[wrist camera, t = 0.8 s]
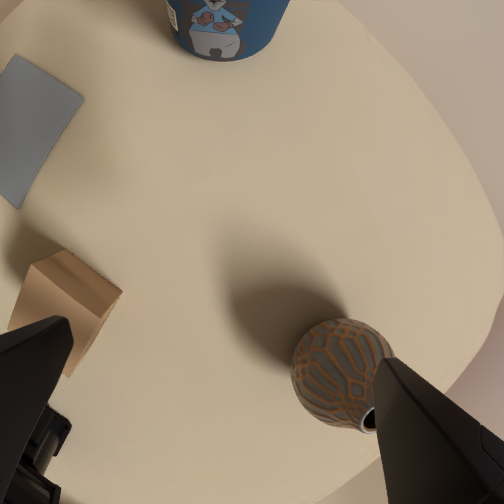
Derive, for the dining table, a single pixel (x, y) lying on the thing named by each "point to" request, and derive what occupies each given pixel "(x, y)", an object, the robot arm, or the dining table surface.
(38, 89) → the slate mat
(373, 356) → the vase
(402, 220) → the dining table surface
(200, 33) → the soda can
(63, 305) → the walnut cube
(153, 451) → the dining table surface
